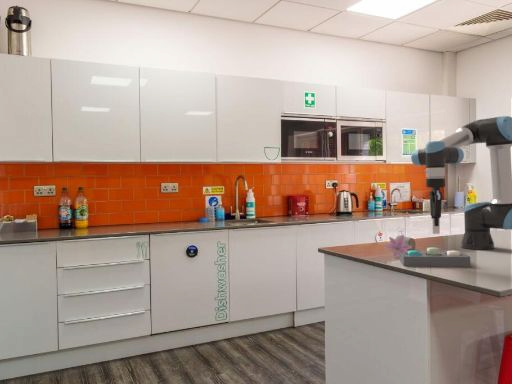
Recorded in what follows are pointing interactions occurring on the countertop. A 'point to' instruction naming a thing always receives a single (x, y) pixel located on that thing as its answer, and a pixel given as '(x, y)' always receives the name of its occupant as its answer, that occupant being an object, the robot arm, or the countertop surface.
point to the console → (435, 260)
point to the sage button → (433, 251)
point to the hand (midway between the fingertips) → (435, 233)
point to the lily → (397, 246)
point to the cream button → (453, 253)
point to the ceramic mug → (409, 242)
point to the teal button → (413, 252)
